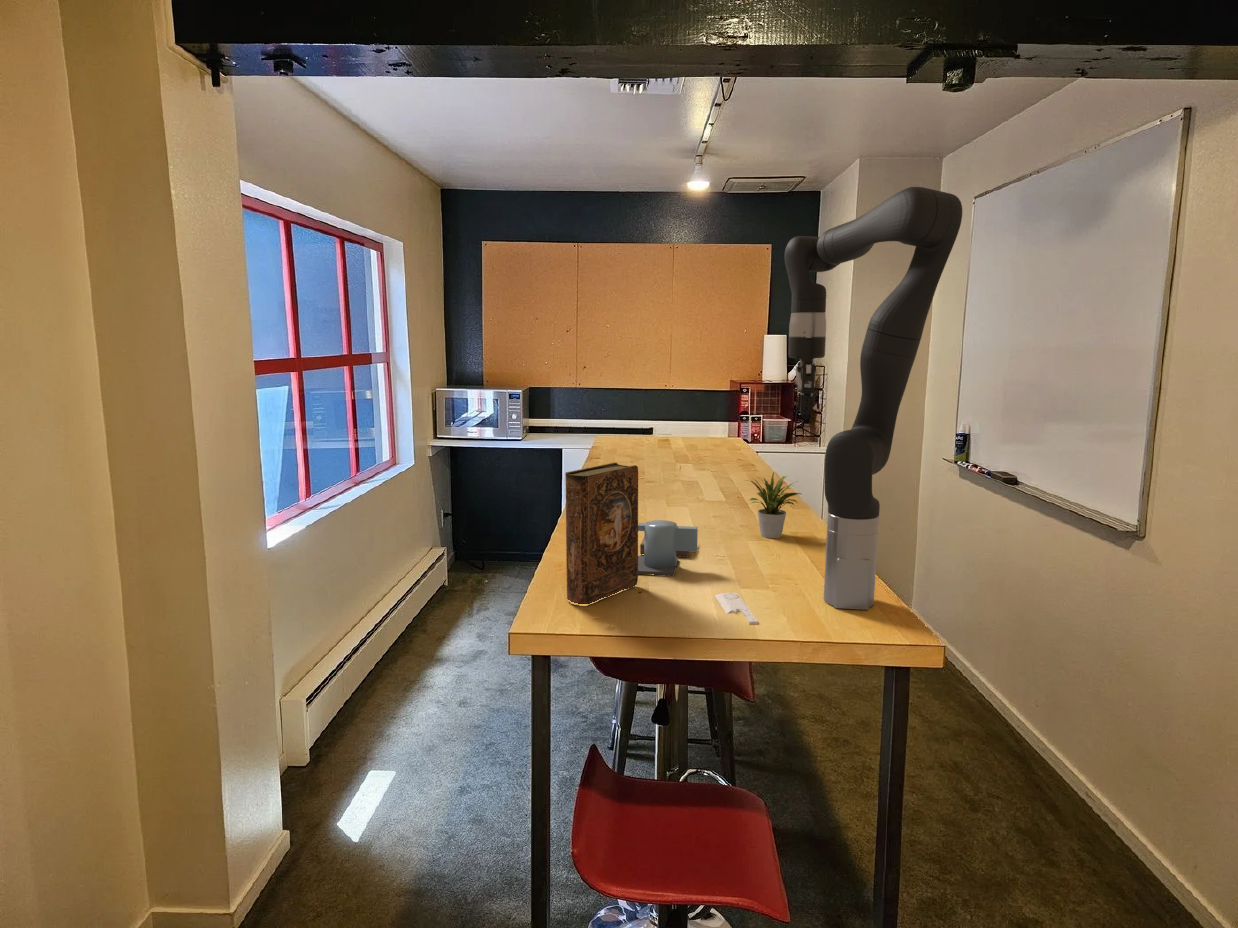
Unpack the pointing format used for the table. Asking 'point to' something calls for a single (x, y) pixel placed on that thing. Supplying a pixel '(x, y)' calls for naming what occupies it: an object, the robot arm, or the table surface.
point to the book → (601, 531)
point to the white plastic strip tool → (735, 605)
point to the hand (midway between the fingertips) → (804, 411)
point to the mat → (646, 570)
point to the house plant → (772, 508)
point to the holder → (678, 553)
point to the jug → (666, 542)
